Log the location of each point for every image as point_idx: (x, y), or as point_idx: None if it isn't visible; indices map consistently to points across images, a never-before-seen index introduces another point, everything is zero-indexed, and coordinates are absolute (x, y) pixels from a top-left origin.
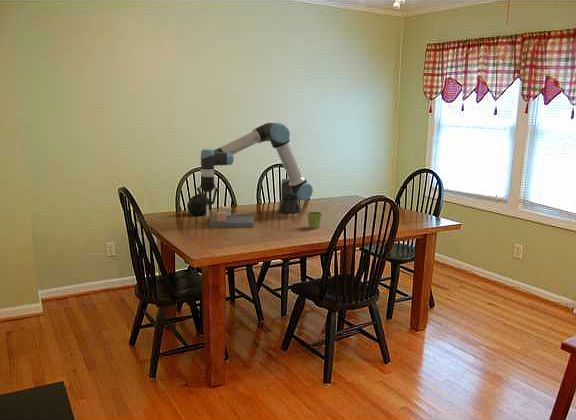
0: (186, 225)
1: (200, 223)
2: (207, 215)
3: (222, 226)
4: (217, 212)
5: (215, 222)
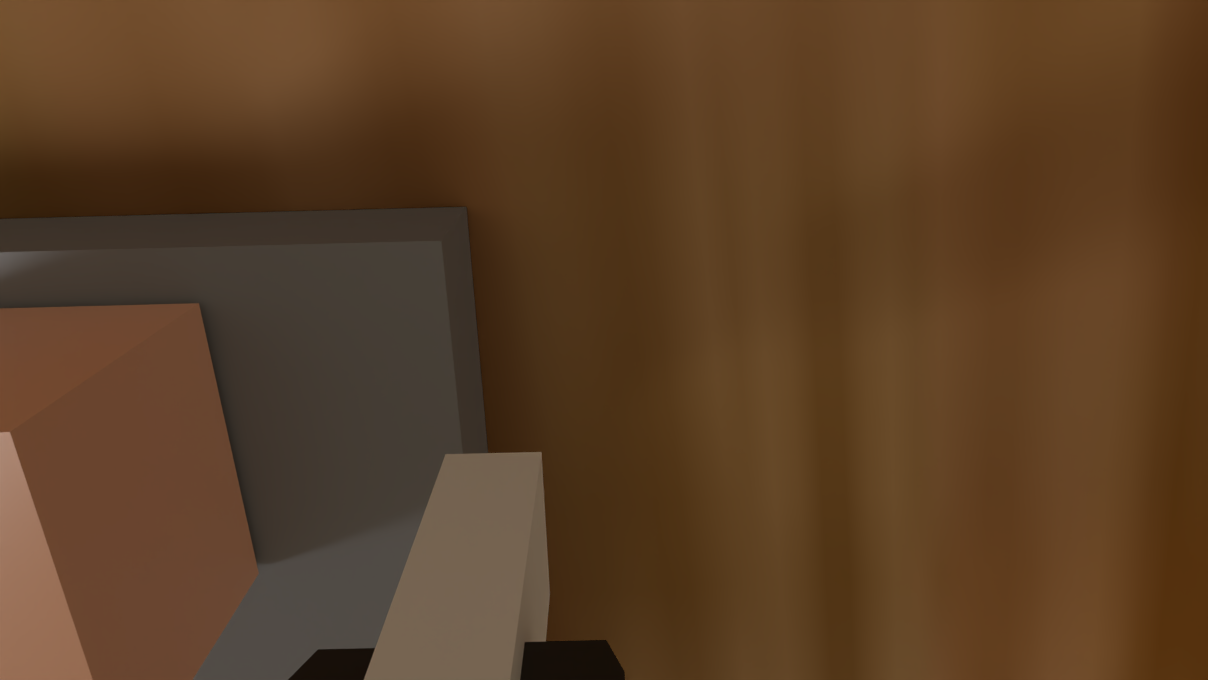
0: (1067, 387)
1: (739, 581)
2: (496, 465)
3: (94, 222)
4: (64, 608)
5: (241, 247)
